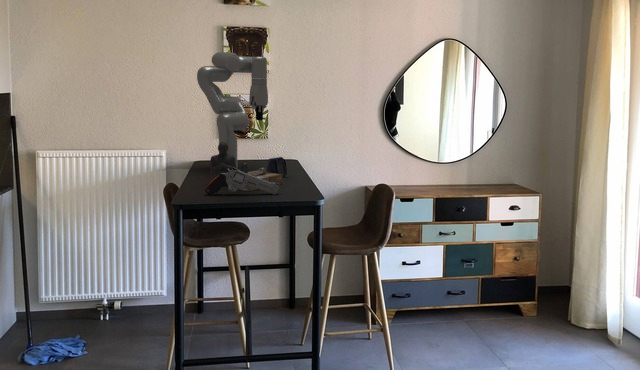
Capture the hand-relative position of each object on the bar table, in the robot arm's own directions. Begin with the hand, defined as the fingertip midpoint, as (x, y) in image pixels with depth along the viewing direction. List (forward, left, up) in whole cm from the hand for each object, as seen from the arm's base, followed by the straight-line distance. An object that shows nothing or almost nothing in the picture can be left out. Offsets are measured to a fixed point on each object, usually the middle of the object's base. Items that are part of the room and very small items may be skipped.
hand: (259, 120), depth 337 cm
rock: (+5, +8, -29) cm, 31 cm away
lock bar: (+10, -19, -24) cm, 32 cm away
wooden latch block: (+12, -21, -29) cm, 38 cm away
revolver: (+22, -42, -30) cm, 56 cm away
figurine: (-3, -25, -29) cm, 39 cm away
